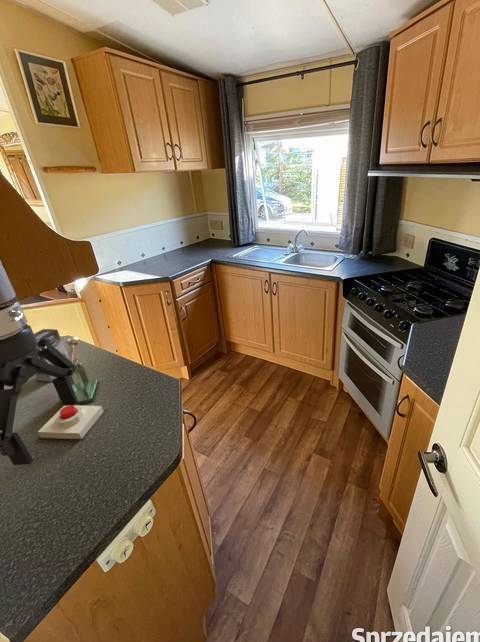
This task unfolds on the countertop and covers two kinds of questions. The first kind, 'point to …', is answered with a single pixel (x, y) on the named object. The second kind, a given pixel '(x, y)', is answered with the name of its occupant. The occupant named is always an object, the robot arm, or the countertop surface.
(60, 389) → the robot arm
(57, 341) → the coffee box
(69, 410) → the stop button
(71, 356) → the lever
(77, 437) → the white button base
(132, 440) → the countertop surface
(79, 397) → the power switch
